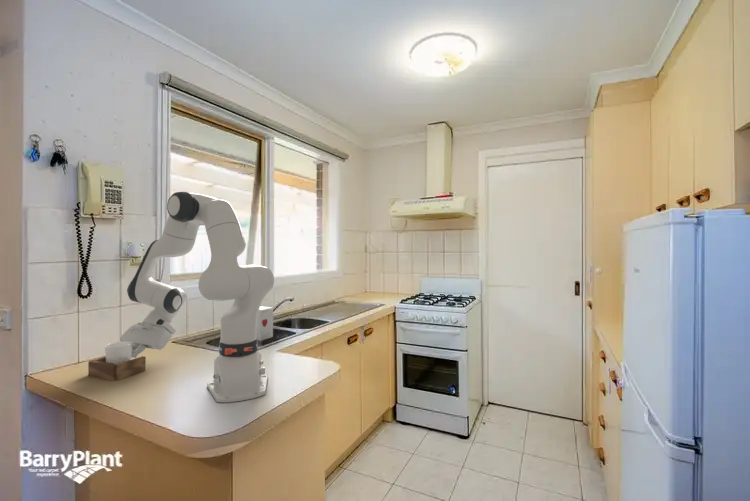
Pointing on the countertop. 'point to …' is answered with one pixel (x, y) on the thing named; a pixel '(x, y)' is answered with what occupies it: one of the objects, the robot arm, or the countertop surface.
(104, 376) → the walnut rest
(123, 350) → the white cup
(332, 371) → the countertop surface
